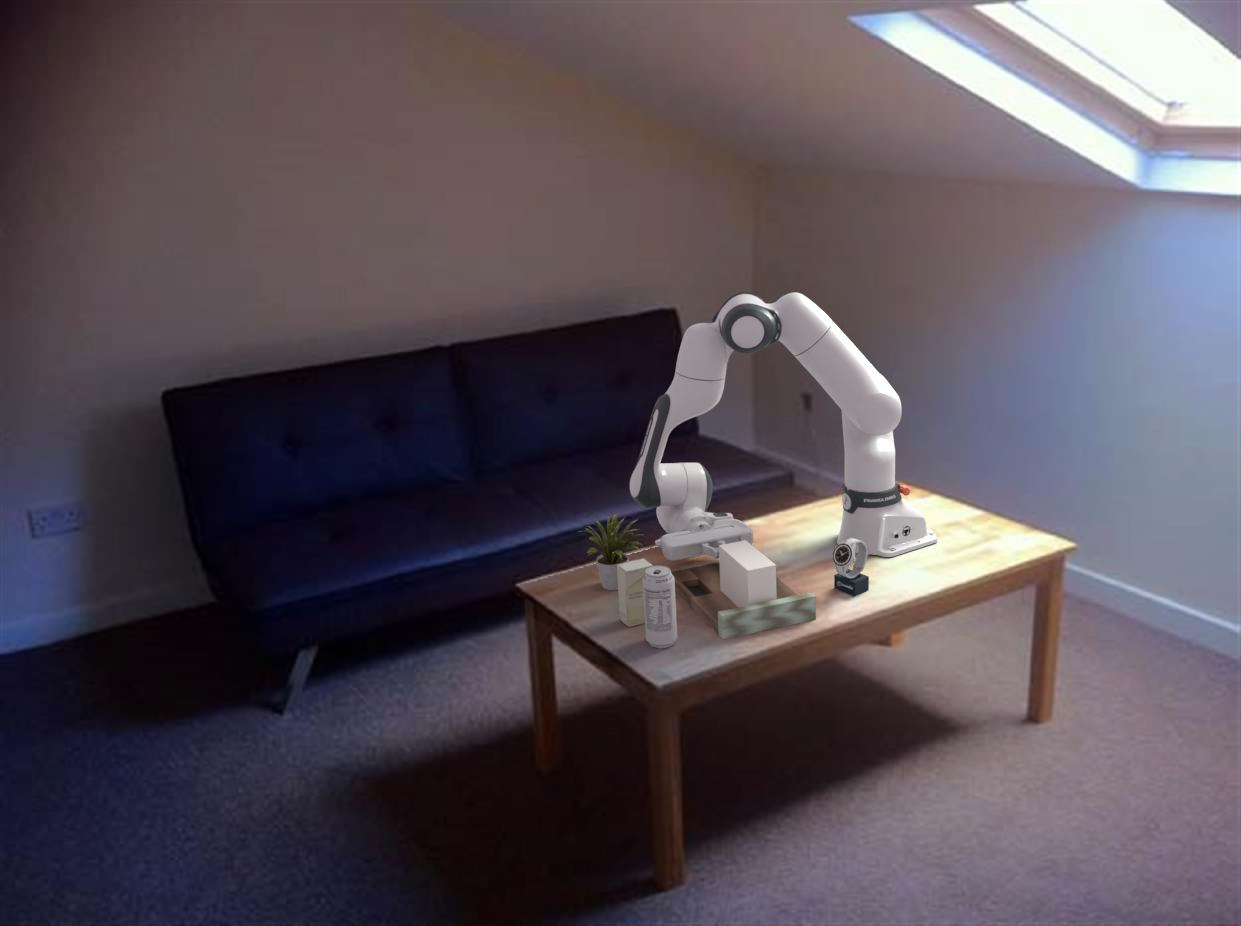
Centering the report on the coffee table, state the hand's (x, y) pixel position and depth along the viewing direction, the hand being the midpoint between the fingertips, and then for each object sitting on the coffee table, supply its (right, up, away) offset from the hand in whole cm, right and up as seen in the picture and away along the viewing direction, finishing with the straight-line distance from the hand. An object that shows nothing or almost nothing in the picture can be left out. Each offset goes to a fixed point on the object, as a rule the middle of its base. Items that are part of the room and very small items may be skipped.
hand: (721, 554), depth 235 cm
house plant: (-23, -8, +4) cm, 25 cm away
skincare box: (-18, -13, -11) cm, 24 cm away
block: (+4, -9, -10) cm, 14 cm away
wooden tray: (+3, -9, -5) cm, 11 cm away
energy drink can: (-13, -15, -21) cm, 29 cm away
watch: (+27, -7, -4) cm, 28 cm away
